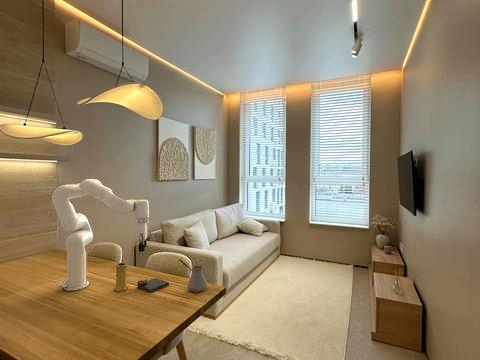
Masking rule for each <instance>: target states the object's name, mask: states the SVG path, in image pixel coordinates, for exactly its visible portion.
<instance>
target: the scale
mask: <svg viewBox="0 0 480 360" xmlns="http://www.w3.org/2000/svg"><path fill="white" fill-rule="evenodd" d="M169 286H170V282H168V281H166V280H164V279H161V278H157V277H153V278H151V279H149V280H147V279H145V282H143V283H140V280H138V281H137V288H138V289H139V290H143V291H145V292H148V293H151V294H152V293H154V292H156V291H159V290H160V289H163V288H166V287H169Z"/></svg>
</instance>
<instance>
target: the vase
mask: <svg viewBox="0 0 480 360" xmlns="http://www.w3.org/2000/svg"><path fill="white" fill-rule="evenodd" d="M127 289H128V286H127V263H126V262H120V263H116V264H115V287H114V291H116V292H121V291H125V290H127Z"/></svg>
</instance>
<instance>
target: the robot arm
mask: <svg viewBox="0 0 480 360" xmlns="http://www.w3.org/2000/svg"><path fill="white" fill-rule="evenodd" d="M86 196H90V197H92V198H94V199H96V200H98V201H100V202H101V203H103V204H104V205H105V206H107V207H109V209H111V210H114V211H116V212H118V213H120V214H122V215H123V214H124V215H127V214H131V213H134V212H135V213H134V214H135V216H134V217H135V224H136V241H137V242H138V247H137V248H138V252H139V253H140V252H143V253H144V252H145V250H146V249H145V248H147V246H148V245H147V238H148V224H150V202H149V200H148V199H126V200H125V199H123V198H122V197H119V196H117V195H116V194H115V193H113V190H112V188H109V187H107V186H105V185H103V184H102V182H101V181H100V180H98V179H97V178H96V179H95V178H86V179H84V180H82V181H81V182H79V183H74V184H73V183H72V184H70V183H69V184H62V185H60V186H58V187H56V188H55V189H54V190H53V193H52V194H51V202H52V204H53V207H54V209H55V211H56V214H57V217H58V220H59V222H60V226H61V227H62V229H63V230H64V231H65V232H69V233H70V232H73V233H71V234H70V235H68V236H67V238H66V240H65V249H66V279H65V280H64V281H63V282H62V283H58V284H57V285H56V288H57V289H60V288H62V289H63V290H64V291H66V292H67V291H69V292H71V291H72V292H73V291H79V290H82V289H86V288H87V287H89V285H90V282H89V281H88V280H87V251H86V247H85V246H87V245H89V244H90V243H92V241H93V240H94V234H93V230H92V228H91V225H90V222H89V220H88V217H87V216H86V215H85V214H83V213H81V212H77V211H76V210H75V207H74V205H73V204H72V203H71V201H70V200H71V199H78V198H82V197H86Z"/></svg>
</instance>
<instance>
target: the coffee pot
mask: <svg viewBox="0 0 480 360" xmlns="http://www.w3.org/2000/svg"><path fill="white" fill-rule="evenodd" d="M177 262H178V263H182V265H183V266H184V267H186V268H187V269H189V270H190V271H191V272H192V273H191V275H190V278H189V279H188V281H187V285H186V286H187V288H188V290H190V291H191V292H193V293H201V292H204V290H205V289H207V287H208V282H207V279H206V277H205V274H204V271H203V270H204V266H203V265H194V266H192V267H190V266H189V265H188V264H187V263H186V262H184V261H183V260H181V259H180V258H179V259H178V260H177Z"/></svg>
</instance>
